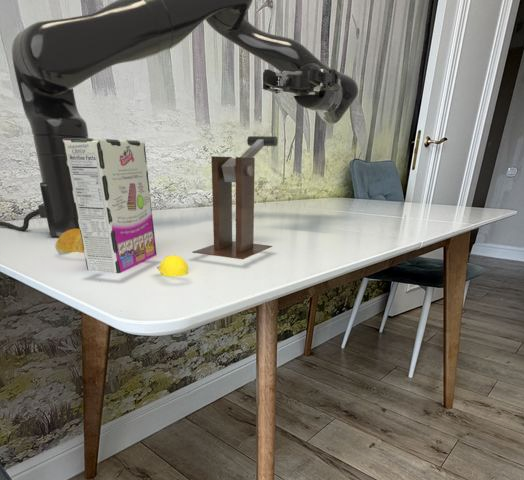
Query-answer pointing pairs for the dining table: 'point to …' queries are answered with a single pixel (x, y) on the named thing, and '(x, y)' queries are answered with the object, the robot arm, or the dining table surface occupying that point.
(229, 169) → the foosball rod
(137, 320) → the dining table surface
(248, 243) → the bracket
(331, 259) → the dining table surface
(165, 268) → the yellow lemon
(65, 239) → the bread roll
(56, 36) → the robot arm
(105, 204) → the candy bar box
